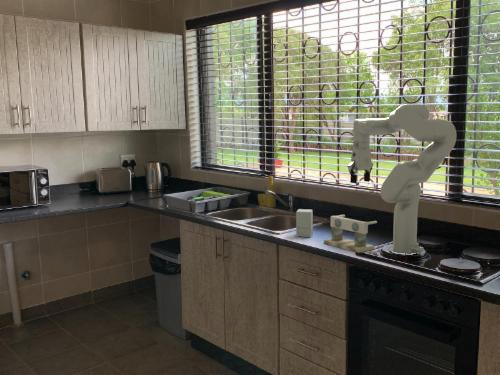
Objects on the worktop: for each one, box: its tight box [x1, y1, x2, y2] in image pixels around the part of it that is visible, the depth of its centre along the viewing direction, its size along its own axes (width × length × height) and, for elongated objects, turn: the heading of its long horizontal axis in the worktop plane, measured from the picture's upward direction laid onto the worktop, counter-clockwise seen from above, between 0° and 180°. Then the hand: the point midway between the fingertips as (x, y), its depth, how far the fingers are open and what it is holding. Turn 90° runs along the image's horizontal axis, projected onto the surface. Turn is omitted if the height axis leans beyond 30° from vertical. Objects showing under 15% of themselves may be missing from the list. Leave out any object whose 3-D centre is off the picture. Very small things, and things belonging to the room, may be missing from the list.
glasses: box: [330, 214, 378, 235], centre depth 225 cm, size 20×9×5 cm, turn 36°
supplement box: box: [295, 208, 314, 238], centre depth 246 cm, size 7×7×13 cm
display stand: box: [323, 227, 375, 254], centre depth 224 cm, size 21×10×8 cm, turn 36°
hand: (360, 182), depth 235 cm, fingers open, 9 cm apart
